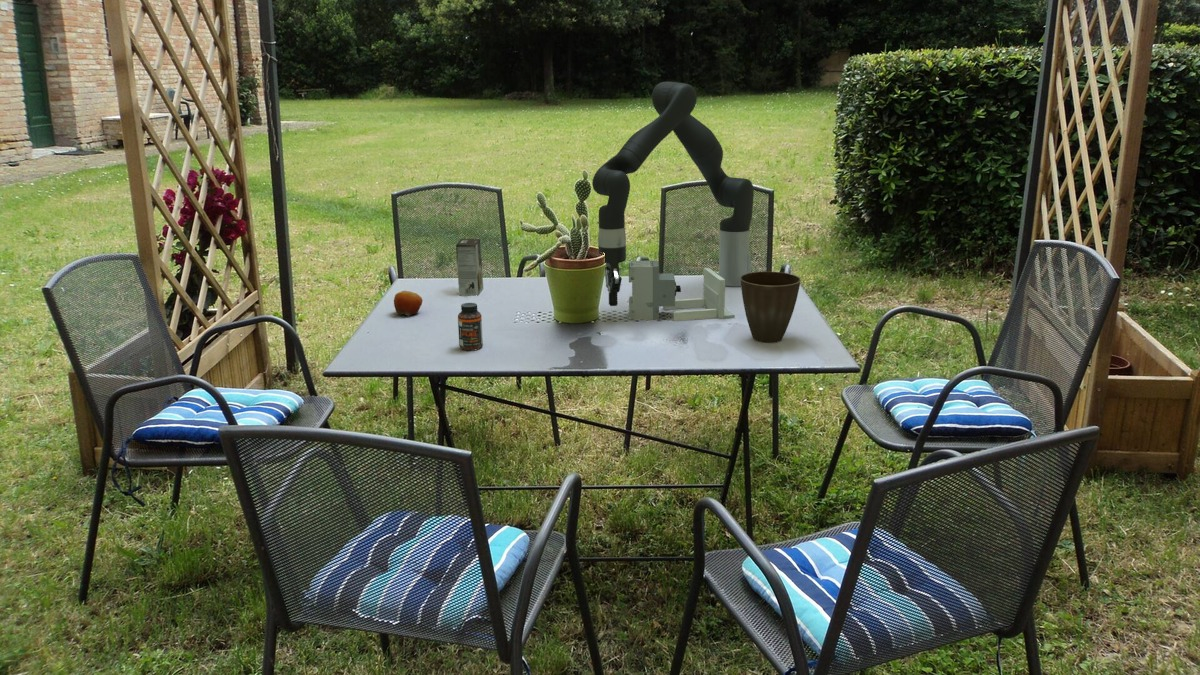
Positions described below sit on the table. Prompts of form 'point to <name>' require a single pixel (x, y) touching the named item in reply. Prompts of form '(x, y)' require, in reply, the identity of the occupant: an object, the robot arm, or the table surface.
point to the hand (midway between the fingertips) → (613, 305)
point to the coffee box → (469, 267)
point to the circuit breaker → (650, 290)
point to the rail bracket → (704, 301)
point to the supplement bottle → (470, 327)
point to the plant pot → (769, 303)
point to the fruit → (407, 303)
